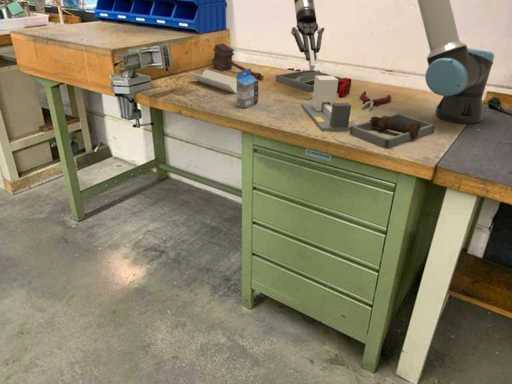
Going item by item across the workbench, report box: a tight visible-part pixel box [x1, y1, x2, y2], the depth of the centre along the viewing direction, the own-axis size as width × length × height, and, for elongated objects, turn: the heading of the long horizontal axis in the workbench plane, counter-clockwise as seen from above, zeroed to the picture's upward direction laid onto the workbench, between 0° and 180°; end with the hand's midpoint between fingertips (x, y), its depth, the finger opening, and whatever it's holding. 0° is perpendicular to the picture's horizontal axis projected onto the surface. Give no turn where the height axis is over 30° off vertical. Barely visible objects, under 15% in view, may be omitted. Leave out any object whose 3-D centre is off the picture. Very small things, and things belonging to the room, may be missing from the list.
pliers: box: [360, 91, 392, 110], centre depth 158 cm, size 12×20×3 cm, turn 155°
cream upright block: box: [311, 75, 338, 111], centre depth 145 cm, size 6×6×11 cm
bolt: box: [369, 115, 420, 141], centre depth 130 cm, size 6×5×15 cm
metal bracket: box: [294, 69, 325, 84], centre depth 184 cm, size 14×6×15 cm
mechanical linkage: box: [337, 77, 352, 98], centre depth 170 cm, size 16×7×5 cm, turn 149°
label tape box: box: [236, 68, 259, 109], centre depth 149 cm, size 9×4×12 cm, turn 148°
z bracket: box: [189, 69, 237, 95], centre depth 173 cm, size 12×25×6 cm
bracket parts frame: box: [275, 69, 343, 93], centre depth 183 cm, size 22×22×2 cm
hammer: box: [211, 43, 265, 81], centre depth 193 cm, size 7×33×10 cm, turn 43°
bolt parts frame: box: [349, 112, 436, 149], centre depth 130 cm, size 14×24×2 cm, turn 128°
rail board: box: [301, 102, 357, 132], centre depth 141 cm, size 26×12×8 cm, turn 9°
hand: (312, 67), depth 155 cm, fingers closed
